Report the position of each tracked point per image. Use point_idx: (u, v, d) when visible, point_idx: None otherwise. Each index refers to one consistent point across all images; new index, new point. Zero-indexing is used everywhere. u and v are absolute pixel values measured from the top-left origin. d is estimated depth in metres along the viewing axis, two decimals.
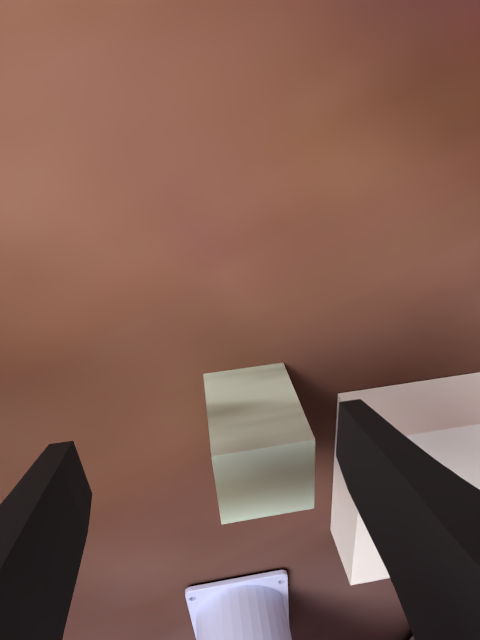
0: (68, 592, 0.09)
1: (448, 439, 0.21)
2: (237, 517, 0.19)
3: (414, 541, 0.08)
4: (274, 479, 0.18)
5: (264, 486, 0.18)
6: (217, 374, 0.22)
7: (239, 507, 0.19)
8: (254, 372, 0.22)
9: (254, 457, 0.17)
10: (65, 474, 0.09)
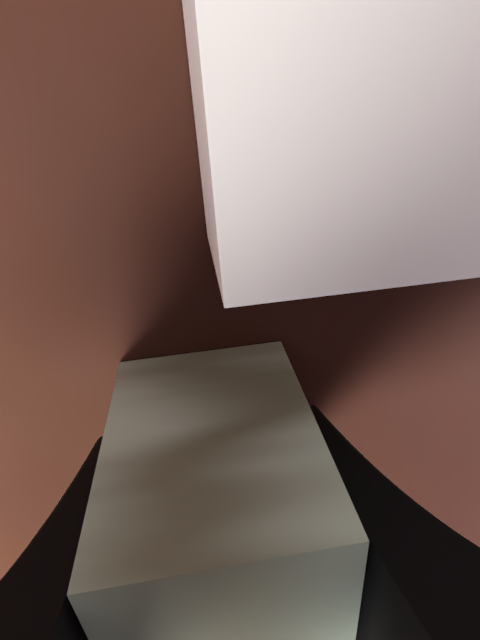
0: None
1: None
2: None
3: None
4: (221, 633, 0.07)
5: None
6: None
7: None
8: None
9: None
10: None
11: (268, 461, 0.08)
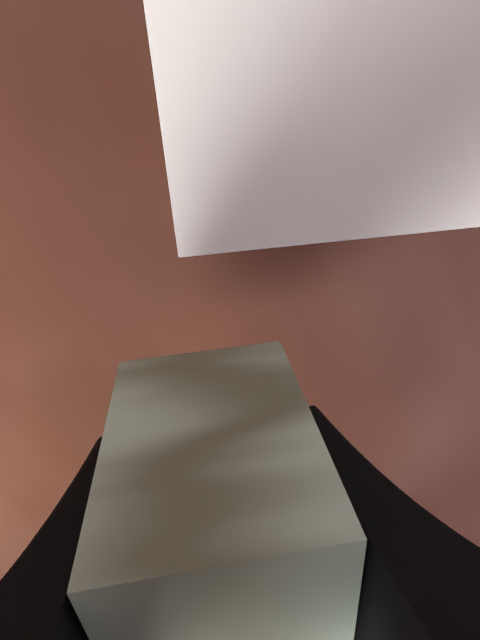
0: None
1: (184, 87, 0.11)
2: None
3: None
4: (220, 632, 0.07)
5: None
6: None
7: None
8: None
9: None
10: None
11: (267, 460, 0.08)
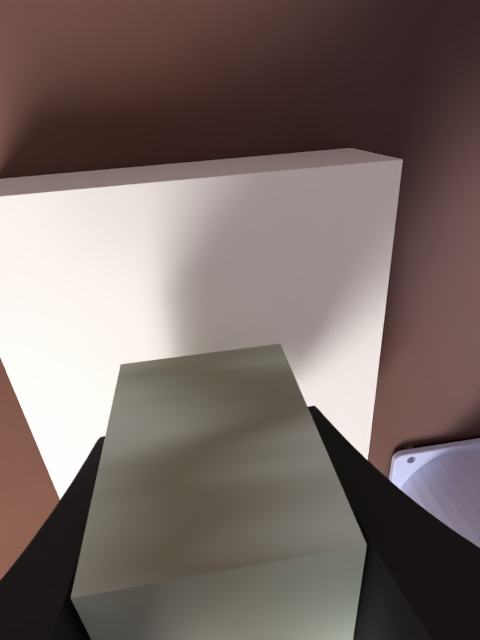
0: None
1: (55, 432, 0.15)
2: None
3: None
4: (220, 633, 0.07)
5: None
6: None
7: None
8: None
9: None
10: None
11: (268, 464, 0.08)
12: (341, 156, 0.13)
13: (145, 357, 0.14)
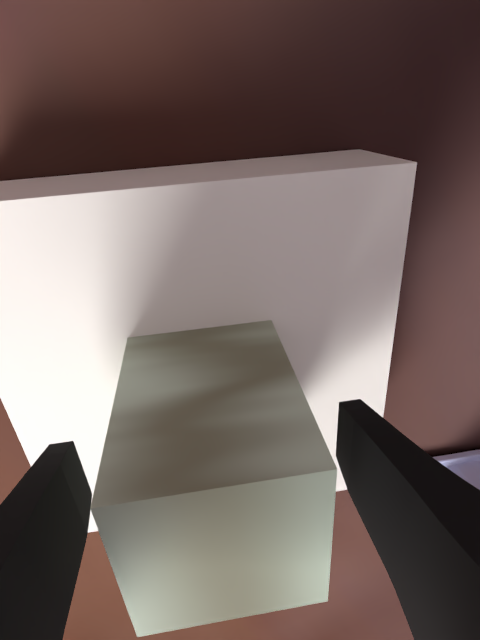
0: (68, 592, 0.09)
1: None
2: (316, 584, 0.09)
3: (414, 541, 0.08)
4: (215, 552, 0.08)
5: (235, 563, 0.08)
6: None
7: (287, 585, 0.09)
8: None
9: (143, 588, 0.08)
10: (65, 474, 0.09)
11: (257, 413, 0.09)
12: (350, 158, 0.13)
13: None
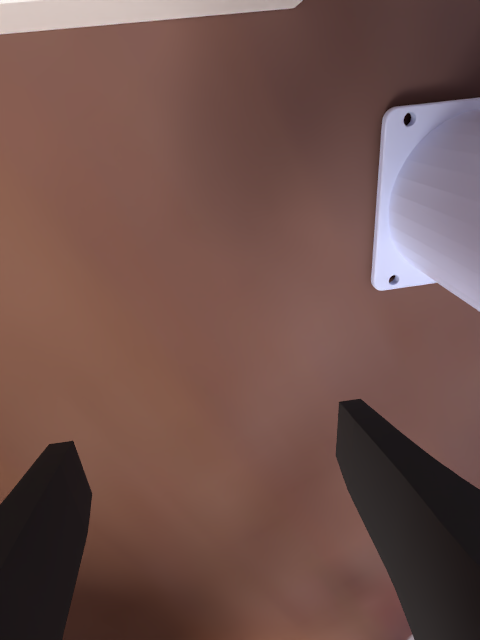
0: (68, 592, 0.09)
1: None
2: None
3: (414, 541, 0.08)
4: None
5: None
6: None
7: None
8: None
9: None
10: (65, 474, 0.09)
11: None
12: None
13: None
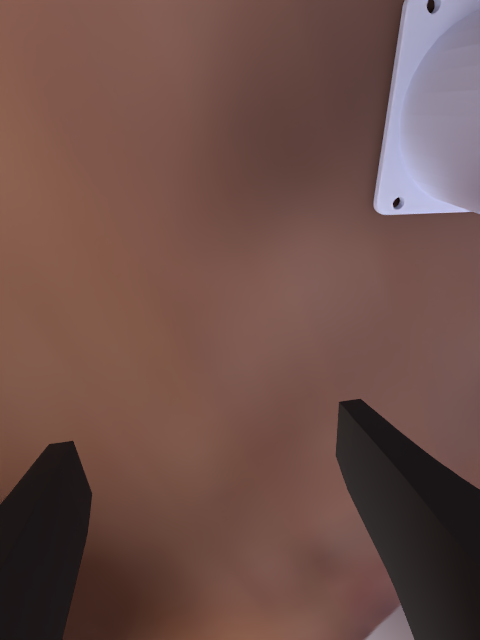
0: (68, 592, 0.09)
1: None
2: None
3: (414, 541, 0.08)
4: None
5: None
6: None
7: None
8: None
9: None
10: (65, 474, 0.09)
11: None
12: None
13: None
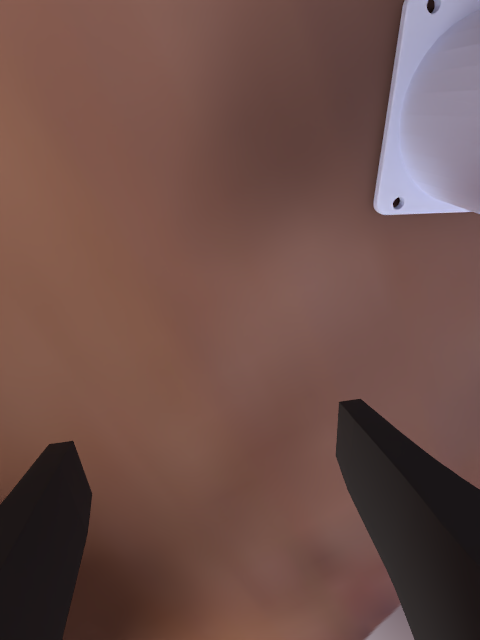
0: (68, 592, 0.09)
1: None
2: None
3: (414, 541, 0.08)
4: None
5: None
6: None
7: None
8: None
9: None
10: (65, 474, 0.09)
11: None
12: None
13: None
